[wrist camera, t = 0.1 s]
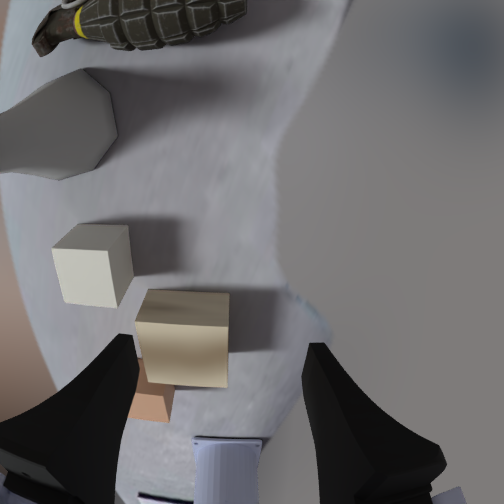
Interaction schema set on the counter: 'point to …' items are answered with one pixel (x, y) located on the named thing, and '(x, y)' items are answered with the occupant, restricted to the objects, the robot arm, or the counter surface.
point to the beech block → (184, 337)
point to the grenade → (134, 22)
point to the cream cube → (94, 264)
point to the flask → (58, 129)
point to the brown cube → (151, 399)
